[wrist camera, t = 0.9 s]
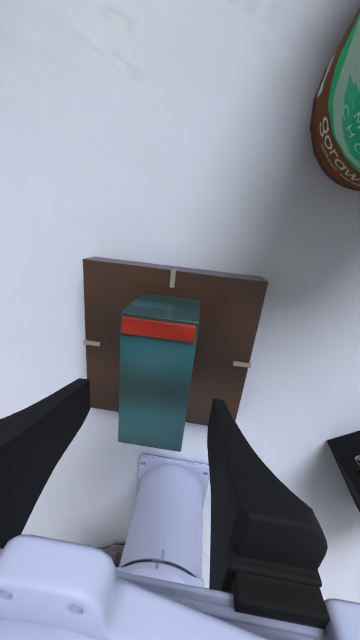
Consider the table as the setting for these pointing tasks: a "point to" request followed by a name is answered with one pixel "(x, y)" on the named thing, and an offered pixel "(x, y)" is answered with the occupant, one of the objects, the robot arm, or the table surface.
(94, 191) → the table surface
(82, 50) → the table surface
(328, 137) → the food container
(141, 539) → the robot arm
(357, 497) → the digital camera
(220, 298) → the clock
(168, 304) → the teal block red stripe
